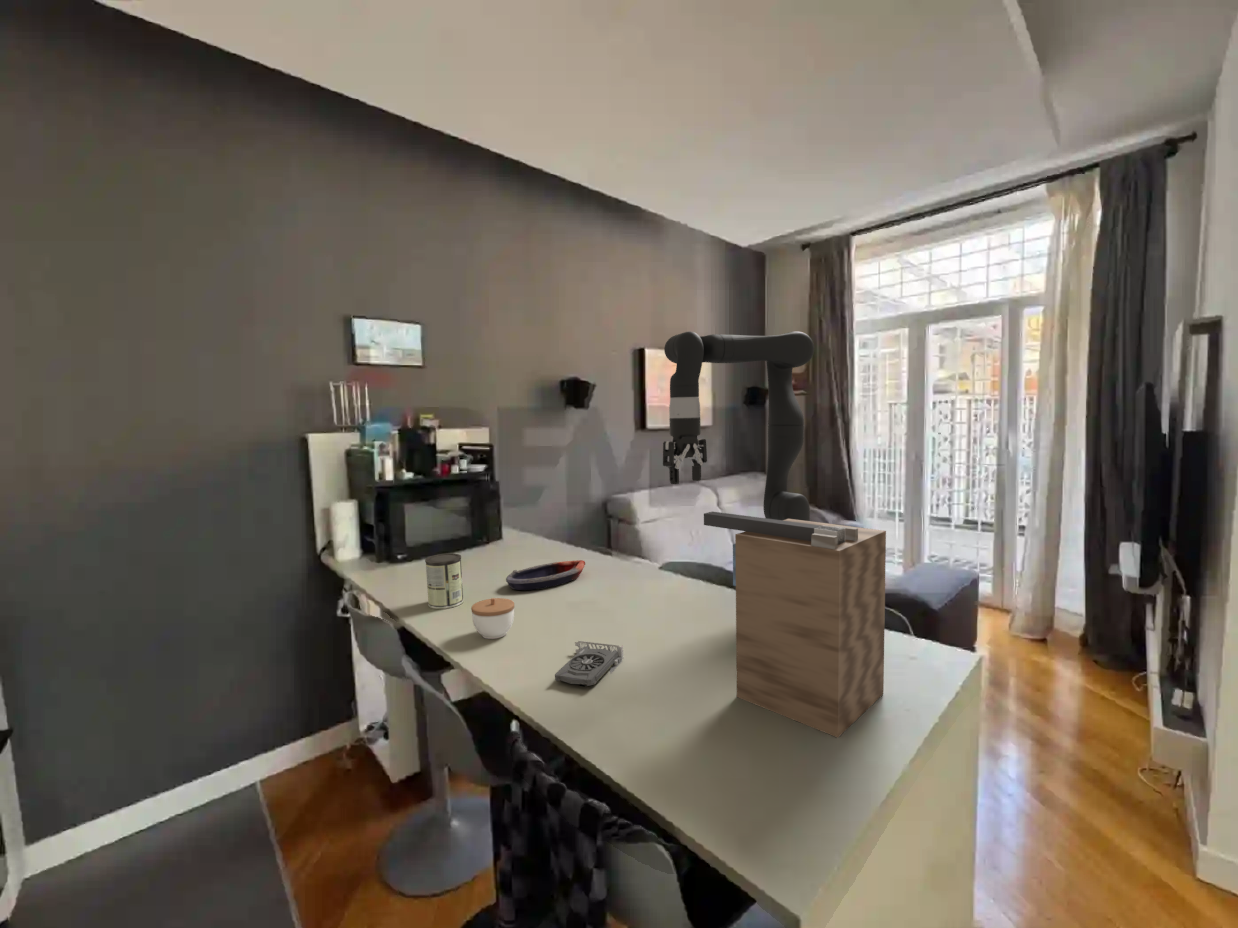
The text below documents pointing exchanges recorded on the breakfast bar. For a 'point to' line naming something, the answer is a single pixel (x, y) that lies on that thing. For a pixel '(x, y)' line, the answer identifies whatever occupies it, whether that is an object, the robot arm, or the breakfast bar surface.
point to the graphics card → (590, 664)
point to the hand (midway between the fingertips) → (685, 482)
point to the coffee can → (444, 581)
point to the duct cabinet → (811, 624)
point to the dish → (545, 575)
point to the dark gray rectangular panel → (771, 526)
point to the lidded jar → (493, 617)
